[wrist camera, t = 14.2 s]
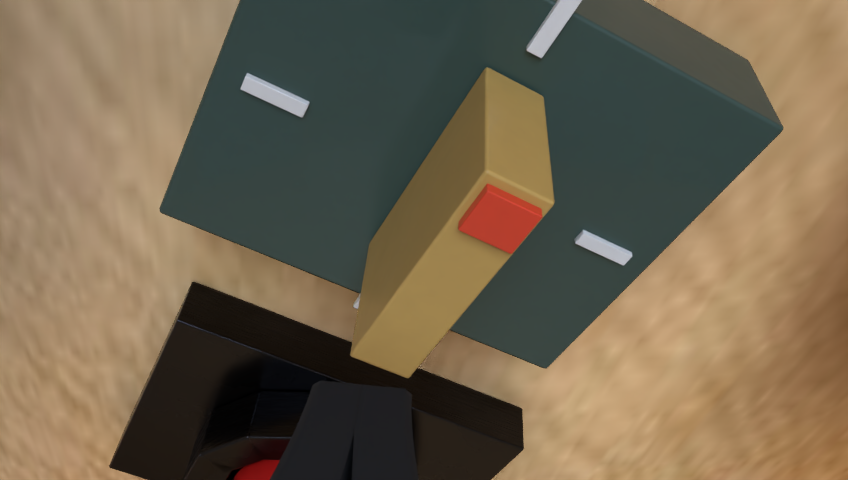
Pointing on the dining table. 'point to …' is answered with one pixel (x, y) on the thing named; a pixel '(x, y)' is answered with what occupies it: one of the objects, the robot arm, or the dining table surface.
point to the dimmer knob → (455, 224)
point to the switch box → (286, 399)
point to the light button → (257, 470)
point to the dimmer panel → (430, 114)
